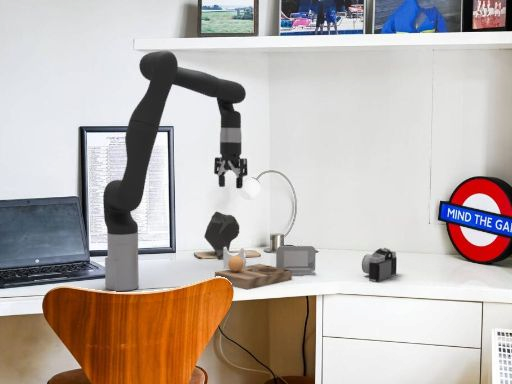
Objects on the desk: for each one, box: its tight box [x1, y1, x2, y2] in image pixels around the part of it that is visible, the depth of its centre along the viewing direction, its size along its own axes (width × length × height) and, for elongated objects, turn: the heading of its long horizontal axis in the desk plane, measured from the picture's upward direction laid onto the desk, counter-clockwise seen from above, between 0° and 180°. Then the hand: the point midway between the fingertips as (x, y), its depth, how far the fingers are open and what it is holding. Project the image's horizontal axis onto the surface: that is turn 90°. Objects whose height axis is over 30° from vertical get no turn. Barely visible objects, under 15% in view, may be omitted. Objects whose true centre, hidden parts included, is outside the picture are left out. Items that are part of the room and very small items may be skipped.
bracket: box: [222, 246, 247, 270], centre depth 241 cm, size 13×7×8 cm, turn 178°
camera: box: [361, 247, 398, 283], centre depth 222 cm, size 16×9×10 cm, turn 140°
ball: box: [228, 256, 245, 272], centre depth 215 cm, size 5×5×5 cm
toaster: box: [275, 245, 316, 277], centre depth 228 cm, size 13×9×10 cm
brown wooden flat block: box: [214, 263, 293, 290], centre depth 216 cm, size 20×15×3 cm
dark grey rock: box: [203, 210, 240, 261], centre depth 256 cm, size 14×15×18 cm
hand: (230, 187), depth 235 cm, fingers open, 8 cm apart
